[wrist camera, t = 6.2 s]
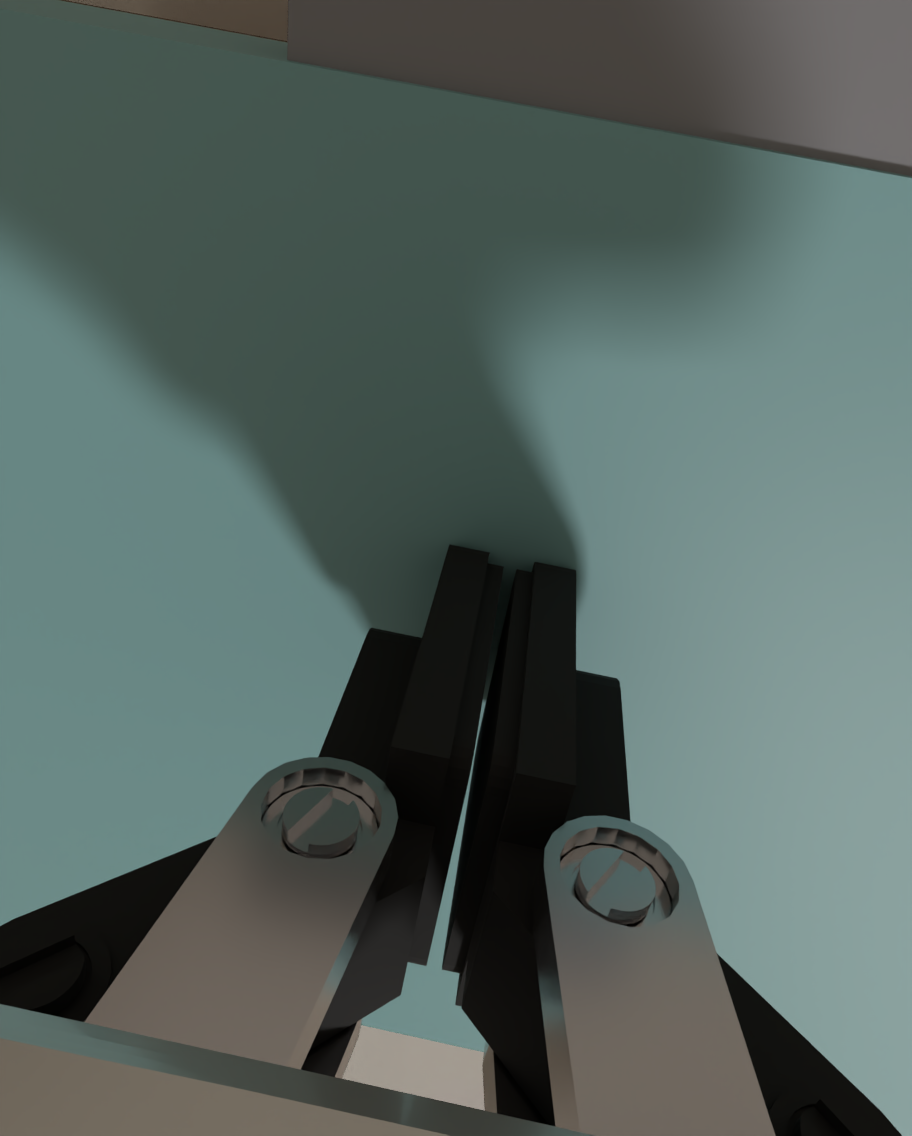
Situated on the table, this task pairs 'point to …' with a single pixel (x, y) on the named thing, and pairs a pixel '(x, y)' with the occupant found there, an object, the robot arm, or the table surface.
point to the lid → (473, 433)
